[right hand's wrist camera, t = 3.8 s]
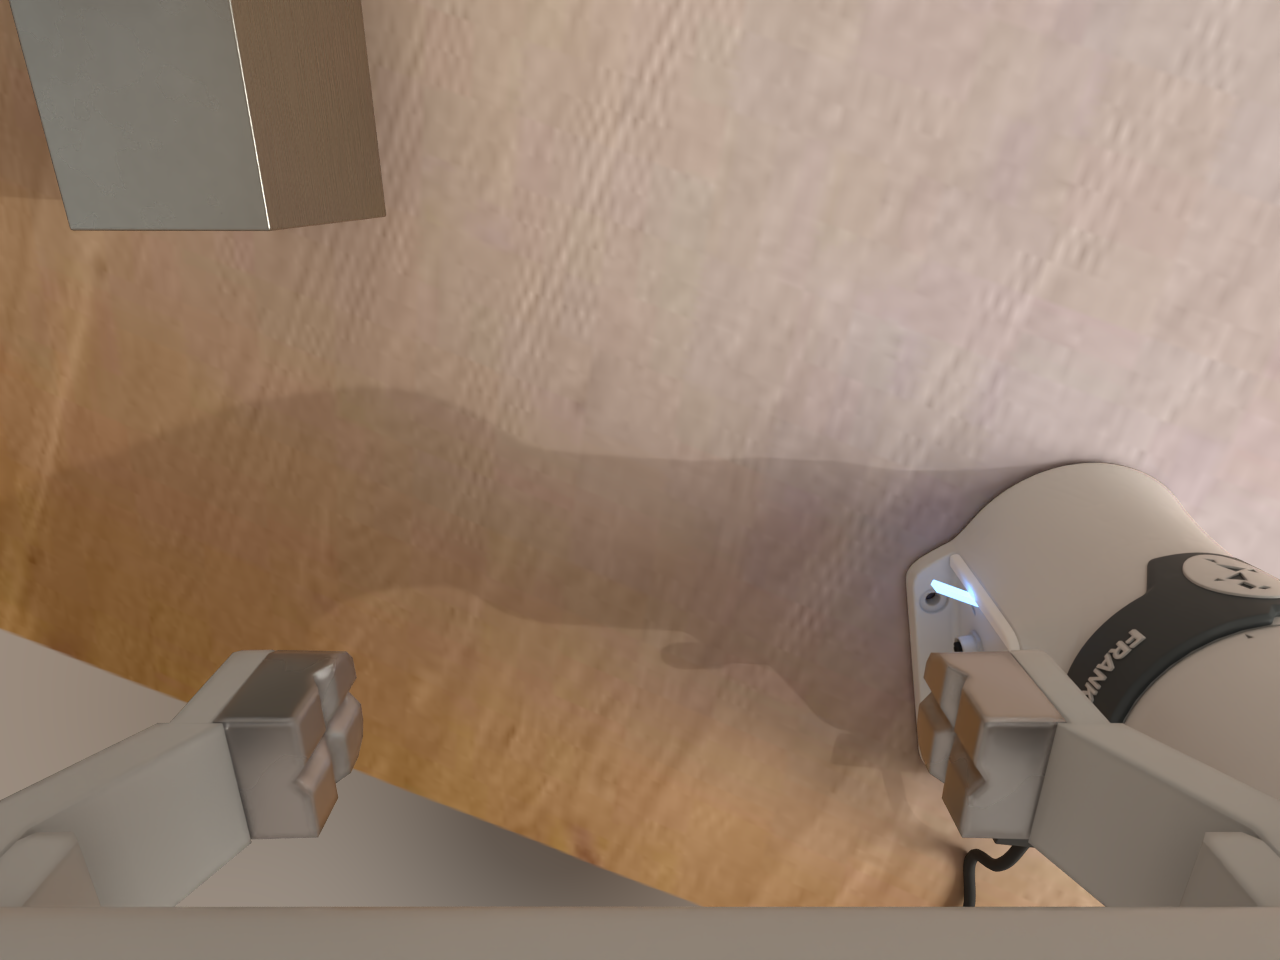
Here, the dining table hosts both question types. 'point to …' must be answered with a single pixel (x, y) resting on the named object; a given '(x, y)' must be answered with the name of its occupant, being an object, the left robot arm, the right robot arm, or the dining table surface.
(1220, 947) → the right robot arm
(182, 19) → the box
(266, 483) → the dining table surface
